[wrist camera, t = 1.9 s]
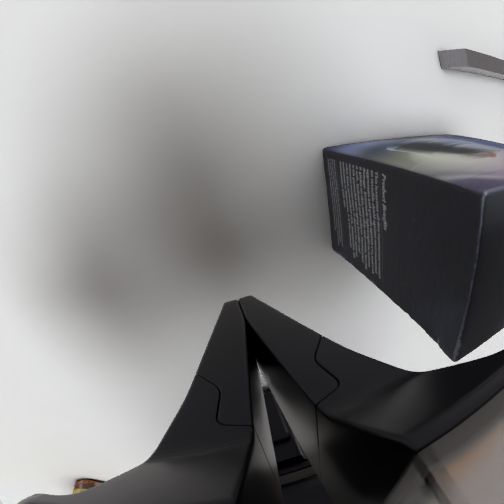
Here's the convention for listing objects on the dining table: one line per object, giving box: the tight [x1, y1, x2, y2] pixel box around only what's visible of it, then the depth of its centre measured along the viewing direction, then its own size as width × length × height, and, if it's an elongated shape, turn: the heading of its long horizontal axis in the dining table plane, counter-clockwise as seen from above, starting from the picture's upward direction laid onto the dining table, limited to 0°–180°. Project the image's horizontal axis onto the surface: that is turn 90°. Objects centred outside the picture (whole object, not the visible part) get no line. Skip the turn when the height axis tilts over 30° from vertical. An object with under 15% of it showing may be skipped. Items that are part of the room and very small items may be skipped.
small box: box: [323, 135, 504, 362], centre depth 12 cm, size 11×6×10 cm, turn 101°
